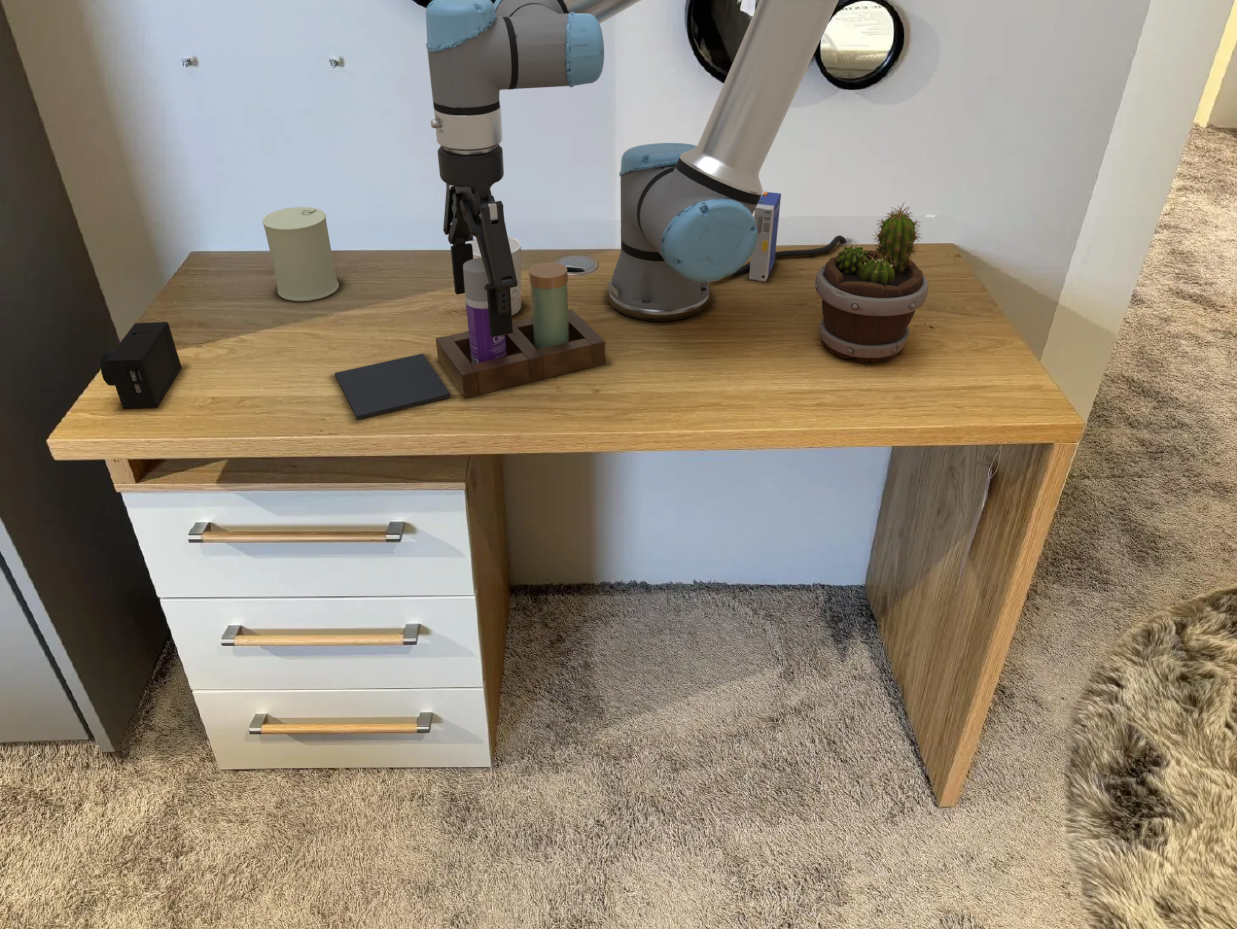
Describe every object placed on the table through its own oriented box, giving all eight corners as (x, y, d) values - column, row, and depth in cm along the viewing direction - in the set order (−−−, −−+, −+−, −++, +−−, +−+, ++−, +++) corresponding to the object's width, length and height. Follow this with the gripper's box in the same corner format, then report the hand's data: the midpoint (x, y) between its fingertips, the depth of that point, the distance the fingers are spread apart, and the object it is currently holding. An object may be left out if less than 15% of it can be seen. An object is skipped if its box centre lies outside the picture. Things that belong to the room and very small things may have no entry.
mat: (423, 357, 131) (422, 353, 131) (450, 397, 122) (450, 393, 122) (335, 376, 127) (334, 372, 126) (357, 420, 118) (356, 416, 118)
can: (351, 284, 150) (338, 210, 144) (306, 306, 144) (291, 230, 137) (310, 272, 155) (295, 199, 148) (265, 292, 148) (247, 217, 141)
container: (501, 380, 126) (493, 273, 117) (467, 376, 127) (456, 270, 118) (512, 363, 130) (504, 258, 121) (479, 360, 130) (469, 256, 122)
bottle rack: (572, 330, 137) (571, 308, 135) (605, 364, 129) (605, 341, 127) (438, 361, 130) (435, 338, 128) (464, 398, 122) (461, 374, 120)
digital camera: (140, 369, 129) (125, 322, 125) (182, 367, 129) (168, 320, 125) (113, 409, 120) (95, 360, 116) (157, 408, 120) (141, 358, 116)
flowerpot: (852, 383, 125) (875, 236, 113) (786, 334, 136) (802, 196, 125) (939, 360, 130) (970, 217, 119) (869, 314, 141) (891, 180, 130)
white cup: (534, 303, 145) (530, 240, 139) (507, 324, 139) (502, 259, 133) (489, 294, 148) (484, 231, 142) (461, 314, 142) (455, 250, 136)
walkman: (757, 260, 158) (764, 189, 151) (774, 262, 157) (781, 191, 150) (748, 279, 152) (754, 205, 145) (765, 281, 151) (772, 207, 144)
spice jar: (561, 344, 134) (558, 259, 127) (576, 359, 130) (573, 273, 123) (528, 351, 132) (523, 266, 125) (542, 367, 129) (537, 280, 121)
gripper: (407, 121, 119) (425, 280, 131) (474, 181, 100) (488, 360, 113) (465, 114, 122) (477, 271, 134) (540, 172, 103) (547, 347, 115)
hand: (482, 312), depth 123 cm, fingers open, 13 cm apart
